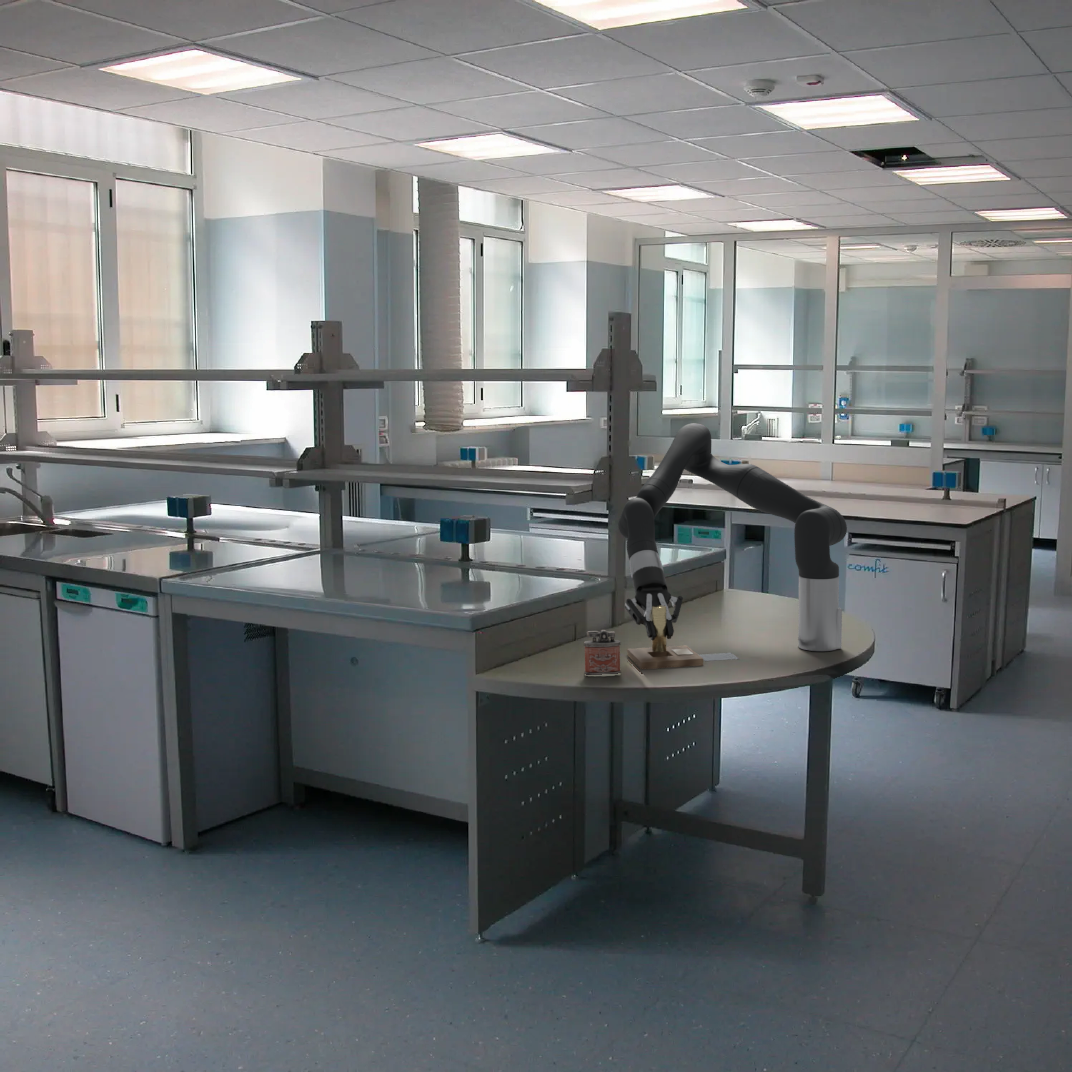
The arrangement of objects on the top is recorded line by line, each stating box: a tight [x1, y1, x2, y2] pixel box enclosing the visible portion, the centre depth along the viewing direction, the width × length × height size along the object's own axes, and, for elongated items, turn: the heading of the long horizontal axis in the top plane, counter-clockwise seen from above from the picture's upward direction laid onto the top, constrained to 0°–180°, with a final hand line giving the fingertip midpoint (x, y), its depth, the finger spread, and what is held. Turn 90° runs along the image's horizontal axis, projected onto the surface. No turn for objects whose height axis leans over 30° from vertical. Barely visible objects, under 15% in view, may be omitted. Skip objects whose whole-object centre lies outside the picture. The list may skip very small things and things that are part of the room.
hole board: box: [626, 644, 704, 674], centre depth 252 cm, size 14×13×3 cm
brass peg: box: [651, 605, 667, 652], centre depth 251 cm, size 3×3×10 cm
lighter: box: [583, 629, 622, 675], centre depth 246 cm, size 8×3×10 cm, turn 92°
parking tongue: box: [698, 652, 740, 662], centre depth 254 cm, size 8×6×2 cm
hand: (661, 637), depth 250 cm, fingers closed on brass peg, 3 cm apart
